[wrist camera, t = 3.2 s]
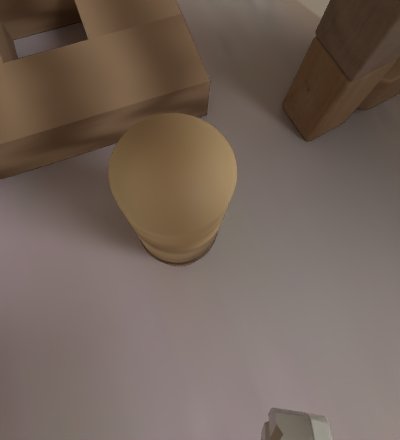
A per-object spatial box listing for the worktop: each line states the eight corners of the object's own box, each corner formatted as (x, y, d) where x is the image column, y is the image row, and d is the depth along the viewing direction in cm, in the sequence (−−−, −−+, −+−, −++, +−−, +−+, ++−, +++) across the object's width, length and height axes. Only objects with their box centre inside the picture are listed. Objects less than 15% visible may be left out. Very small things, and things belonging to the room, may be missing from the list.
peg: (198, 197, 25) (210, 96, 13) (222, 257, 24) (258, 208, 12) (136, 218, 24) (90, 133, 12) (158, 281, 23) (130, 254, 11)
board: (138, -50, 30) (131, -104, 26) (206, 114, 26) (210, 80, 22) (-86, 6, 27) (-131, -44, 23) (-44, 193, 24) (-88, 170, 20)
